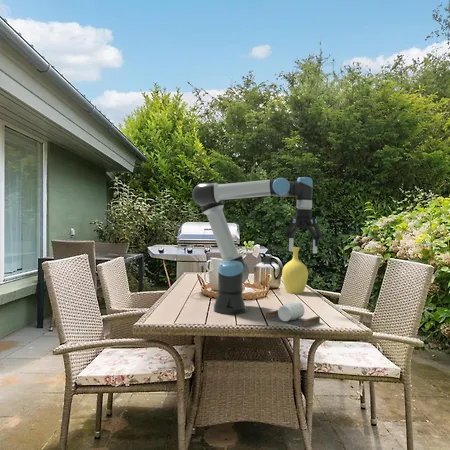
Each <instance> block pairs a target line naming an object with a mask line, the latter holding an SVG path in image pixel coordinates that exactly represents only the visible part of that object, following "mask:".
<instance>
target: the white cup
mask: <svg viewBox="0 0 450 450" xmlns="http://www.w3.org/2000/svg"><path fill="white" fill-rule="evenodd" d="M277 310H278V316H279V318H280V319H281V320H282V321H291V320H295V319H298V318H303V316H304V315H305V307H304V305H303V304H302V302H300V301H299V300H293V301H290V302H287V303H284V304H283V305H281V306H279V308H278V309H277Z"/></svg>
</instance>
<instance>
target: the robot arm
mask: <svg viewBox="0 0 450 450" xmlns="http://www.w3.org/2000/svg"><path fill="white" fill-rule="evenodd" d="M296 179H297V180H296V181H289V180H288V179H286V178H284V177H278V178H274V179H263V180H252V181H243V182H230V183H220V184H219V183H218V182H200V183H198V184H197V185H196V186H195V187H194V188H193V189H192V195H191V196H192V199H193V201H194V203H195V204H196V205H198V206H199V207H200V210H201V211H202V214H204V215H206V217H207V220H208V222H209V225H210V228H211V231H212V234H213V236H214V239H215V243H216V245H217V248H218V251H219V253H220V256H221V261H220V263H219V264H218V268H217V269H218V270H217V271H218V275H217V277H218V280H217V295H216V299H215V303H214V305H213V311H214V312H215V313H219V314H225V315H237V314H243V313H245V312H246V305H245V301H244V298H243V283H245V282H246V281H247V280H248V278H249V274H250V270H249V269H250V268H249V266H248V265H247V263H245V260H244V257H243V255H242V254H240V253H238V250H237V247H236V244H235V241H234V238H233V235H232V232H231V230H230V228H229V225H228V222H227V219H226V216H225V213H224V211H223V209H224V207H225V205H224V203H223V202H224V201H226V200H233V199H234V200H237V199H246V198H247V199H248V198H258V197H270V196H273V197H277V198H280V197H284V198H286V197H289V198H290V197H293V198H295V197H296V205H295V206H296V208H297V209H296V210H295V211H296V212H295V213H296V214H295V217H296V218H291V219H290V222H289V224H288V227H287V229H286V231H285V234H284V237H286V238H287V244H288V252H293V247H294V240H295V239H294V238H293V237H294V236H295V235H296V233H297V232H298V231H299V230H300V229H308V231H309V233H310V235H311V236H312V237H313V238H314V239H312V254H317V253H318V247H319V246H320V245H319V244H320V240H321V239H323V238H324V236H323V234H322V231H321V229H320V226H319V223H318V219H317V218H312V217H313V216H312V215H313V211H312V208H313V191H314V190H313V178H311V177H308V176H302V177H297V178H296Z"/></svg>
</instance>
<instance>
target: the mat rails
mask: <svg viewBox="0 0 450 450" xmlns="http://www.w3.org/2000/svg"><path fill="white" fill-rule="evenodd" d="M276 316H278V309H276V310H273V311H268V312H267V311H266V313H265V319H266V318H272V317H276ZM320 318H321V316H318V315H316V316H313V317H309V318H304V319H305V320H302V326H308V325H311V324H314V323H317V324H319V323H318V322H321V320H320ZM314 325H315V324H314ZM311 326H312V325H311ZM308 327H309V326H308Z"/></svg>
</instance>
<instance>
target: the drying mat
mask: <svg viewBox="0 0 450 450" xmlns="http://www.w3.org/2000/svg"><path fill="white" fill-rule="evenodd" d="M265 319H266V320H270V321H274V322H278V323H279V322H280V323H283V324H288V325H292V326H297V327H301V328H307V327H311V326H314V325H317V324H320V322H321V321H320V322H318V323H314V324H311V325H308V326H302V320H305V319H306V318H303V317H301V318H298V319H295V320H291V321H282V320H281V319H280V318H279V316H276V317H272V318H266V317H265Z"/></svg>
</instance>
